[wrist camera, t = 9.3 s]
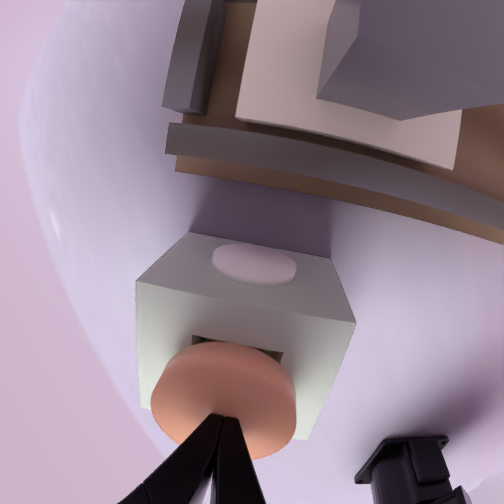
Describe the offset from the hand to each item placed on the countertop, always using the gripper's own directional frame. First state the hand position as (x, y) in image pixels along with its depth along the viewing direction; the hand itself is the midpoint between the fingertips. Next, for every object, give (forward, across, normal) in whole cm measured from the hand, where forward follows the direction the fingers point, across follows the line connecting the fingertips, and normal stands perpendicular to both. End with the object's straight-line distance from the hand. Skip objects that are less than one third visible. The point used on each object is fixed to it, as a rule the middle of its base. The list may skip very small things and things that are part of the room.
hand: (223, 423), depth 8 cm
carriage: (+6, -2, -11) cm, 13 cm away
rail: (+8, -8, -11) cm, 16 cm away
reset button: (+4, 0, 0) cm, 4 cm away
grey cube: (+8, 0, 0) cm, 8 cm away
